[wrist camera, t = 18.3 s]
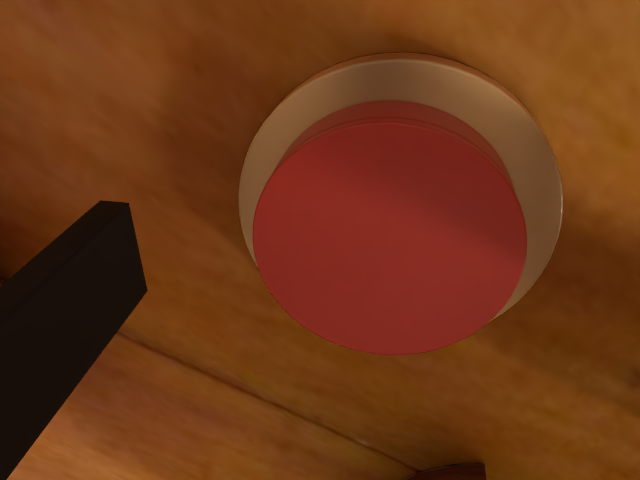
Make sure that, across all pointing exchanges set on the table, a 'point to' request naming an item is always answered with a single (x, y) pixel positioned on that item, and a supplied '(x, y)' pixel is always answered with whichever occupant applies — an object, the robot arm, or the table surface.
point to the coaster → (435, 91)
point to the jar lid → (390, 229)
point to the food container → (452, 473)
